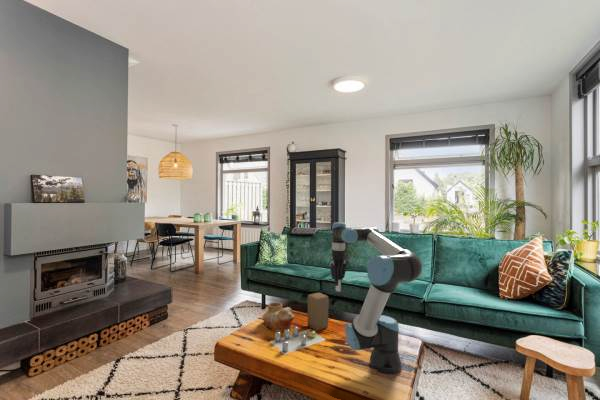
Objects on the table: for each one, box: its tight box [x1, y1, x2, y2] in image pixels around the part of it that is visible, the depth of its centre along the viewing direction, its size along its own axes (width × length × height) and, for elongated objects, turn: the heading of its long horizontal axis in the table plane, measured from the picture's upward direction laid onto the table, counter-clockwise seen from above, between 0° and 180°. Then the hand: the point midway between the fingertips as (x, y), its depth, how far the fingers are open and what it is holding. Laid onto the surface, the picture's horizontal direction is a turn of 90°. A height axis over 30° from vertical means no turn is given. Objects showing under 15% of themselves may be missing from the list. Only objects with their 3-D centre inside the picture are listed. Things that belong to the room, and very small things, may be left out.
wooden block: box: [307, 292, 329, 331], centre depth 186 cm, size 10×10×20 cm
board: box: [269, 328, 327, 355], centre depth 165 cm, size 16×28×1 cm, turn 125°
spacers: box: [274, 325, 306, 353], centre depth 163 cm, size 14×17×5 cm
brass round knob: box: [306, 328, 317, 338], centre depth 171 cm, size 5×5×3 cm
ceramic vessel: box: [262, 301, 296, 334], centre depth 183 cm, size 14×26×15 cm, turn 37°
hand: (338, 290), depth 166 cm, fingers closed
